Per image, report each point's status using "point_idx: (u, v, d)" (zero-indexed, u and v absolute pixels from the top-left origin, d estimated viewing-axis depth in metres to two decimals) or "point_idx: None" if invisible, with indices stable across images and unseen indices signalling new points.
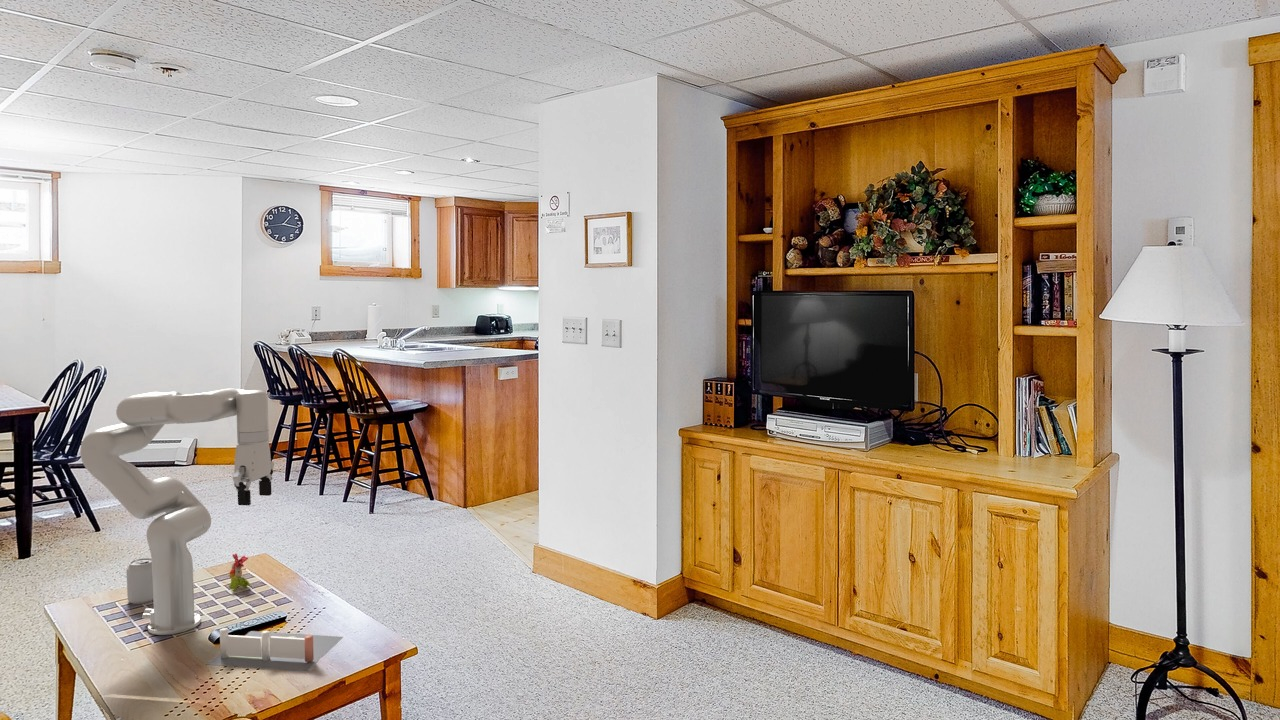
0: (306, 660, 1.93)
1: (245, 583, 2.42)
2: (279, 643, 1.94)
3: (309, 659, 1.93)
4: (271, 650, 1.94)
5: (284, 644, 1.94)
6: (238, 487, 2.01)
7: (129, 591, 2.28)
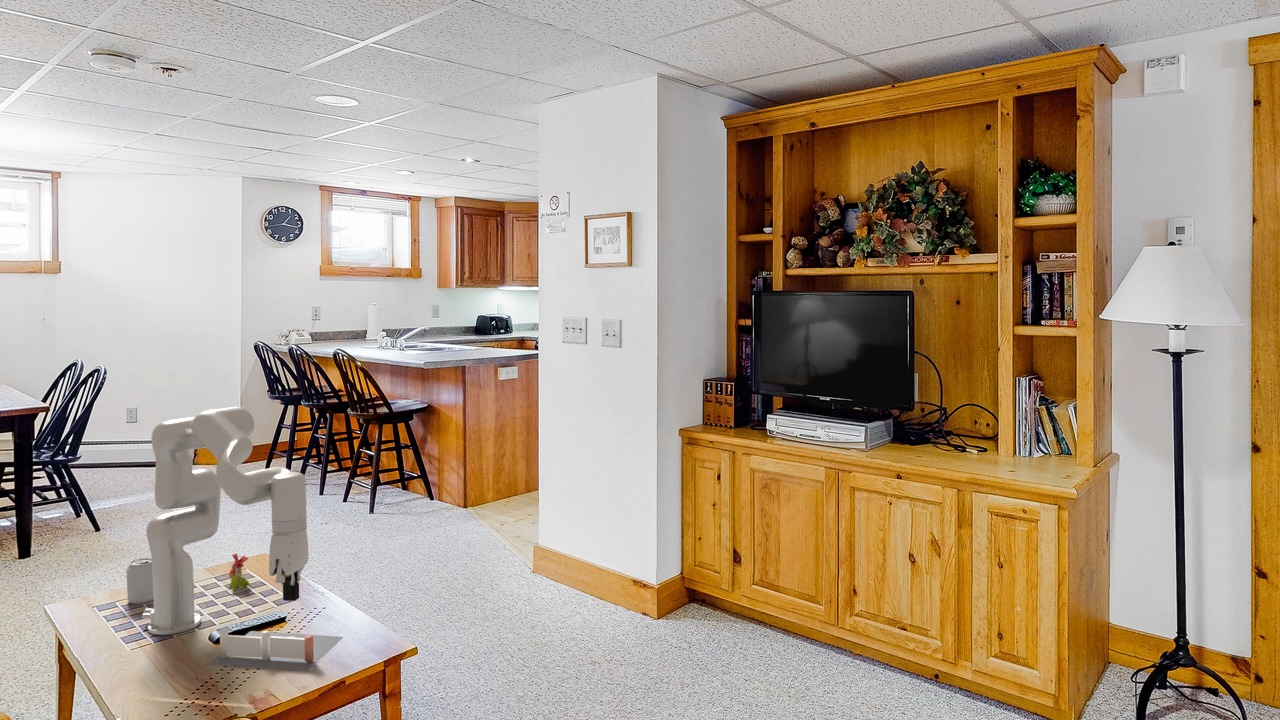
0: (306, 660, 1.93)
1: (245, 583, 2.42)
2: (279, 643, 1.94)
3: (309, 659, 1.93)
4: (271, 650, 1.94)
5: (284, 644, 1.94)
6: (284, 582, 1.84)
7: (129, 591, 2.28)
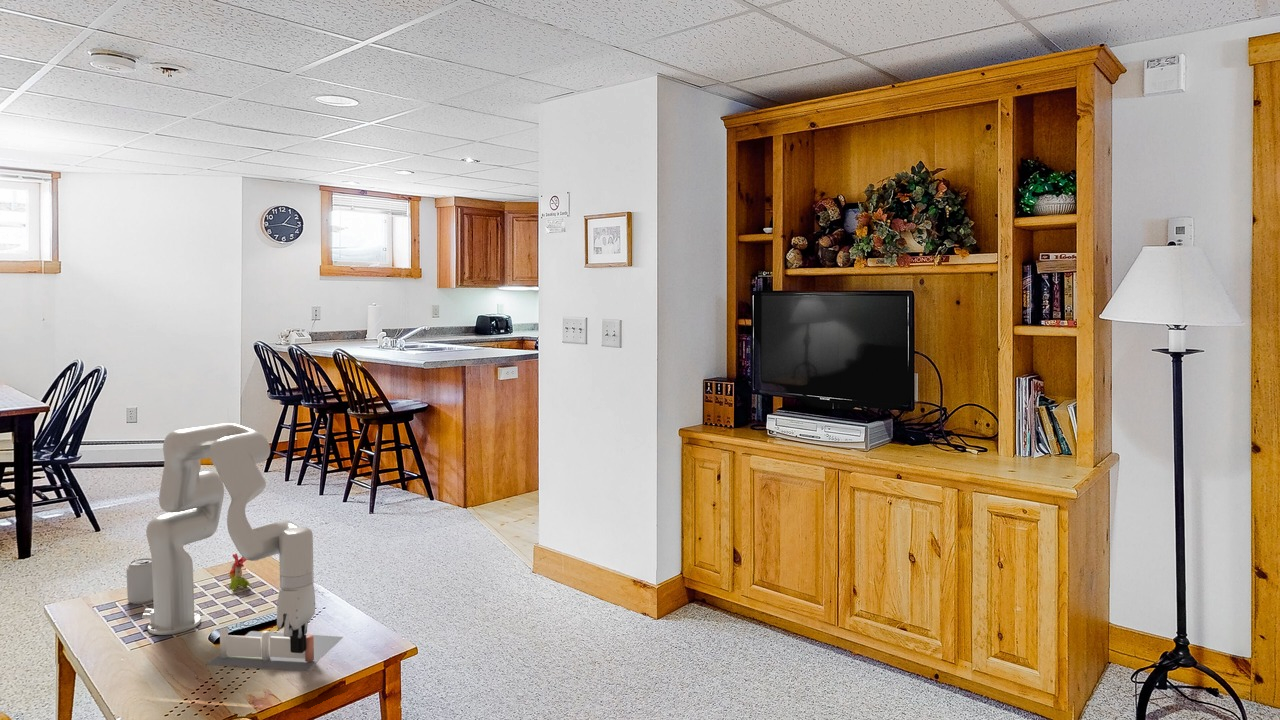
0: (306, 660, 1.93)
1: (245, 583, 2.42)
2: (279, 643, 1.94)
3: (309, 659, 1.93)
4: (271, 650, 1.94)
5: (284, 644, 1.94)
6: (291, 635, 1.88)
7: (129, 591, 2.28)
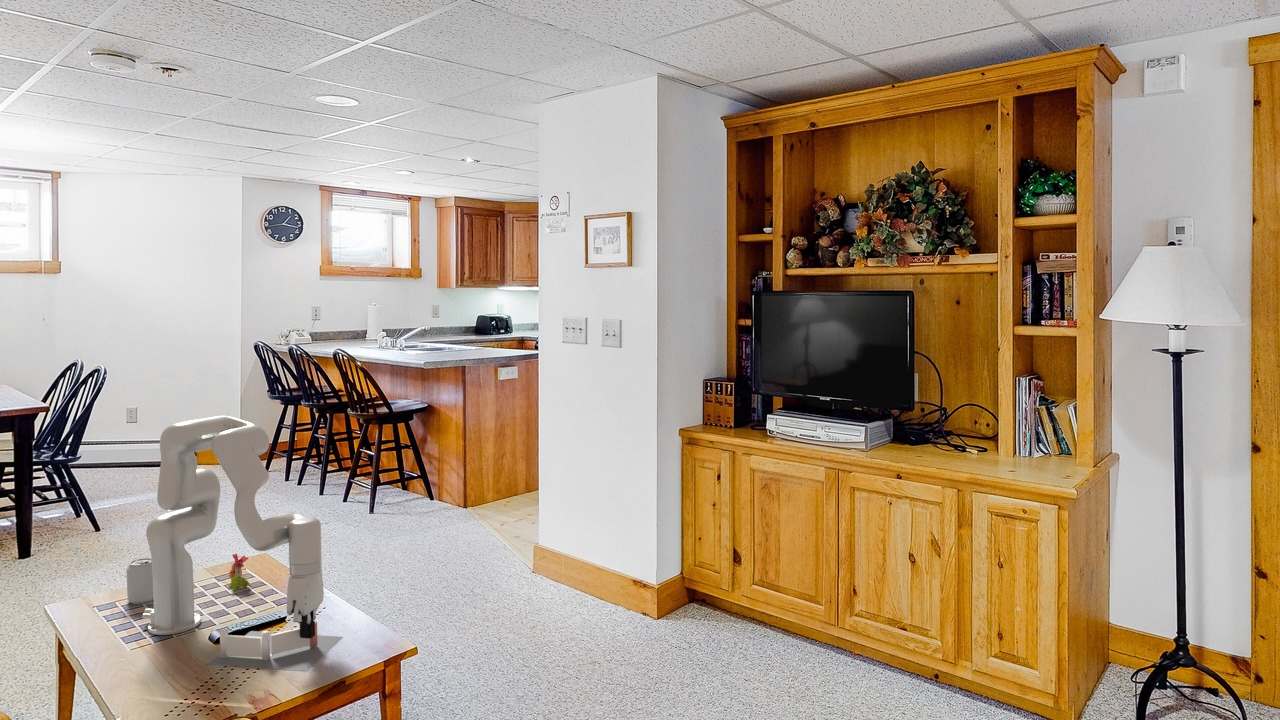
0: (313, 645, 2.01)
1: (245, 583, 2.42)
2: (282, 638, 1.97)
3: (316, 643, 2.02)
4: (273, 648, 1.96)
5: (288, 637, 1.98)
6: (300, 621, 1.96)
7: (129, 591, 2.28)
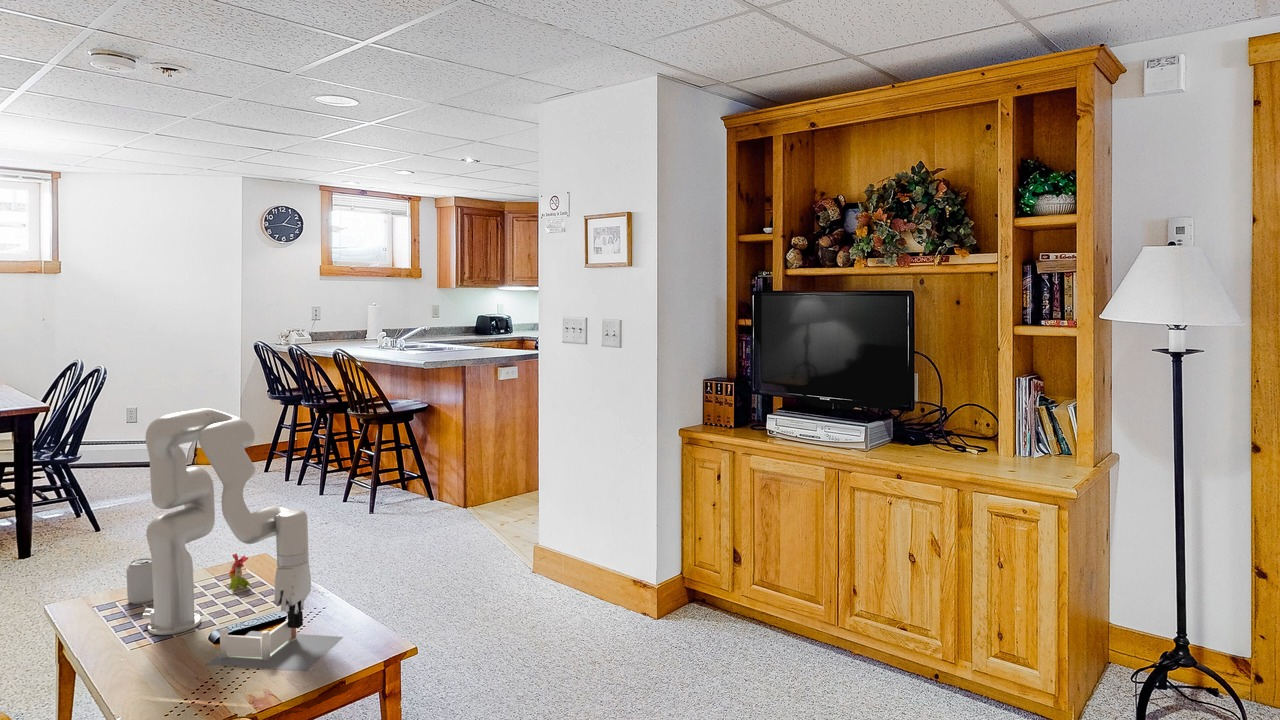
0: (294, 636, 2.06)
1: (245, 583, 2.42)
2: (276, 635, 1.99)
3: None
4: (271, 646, 1.97)
5: (279, 633, 2.00)
6: (288, 611, 2.01)
7: (129, 591, 2.28)
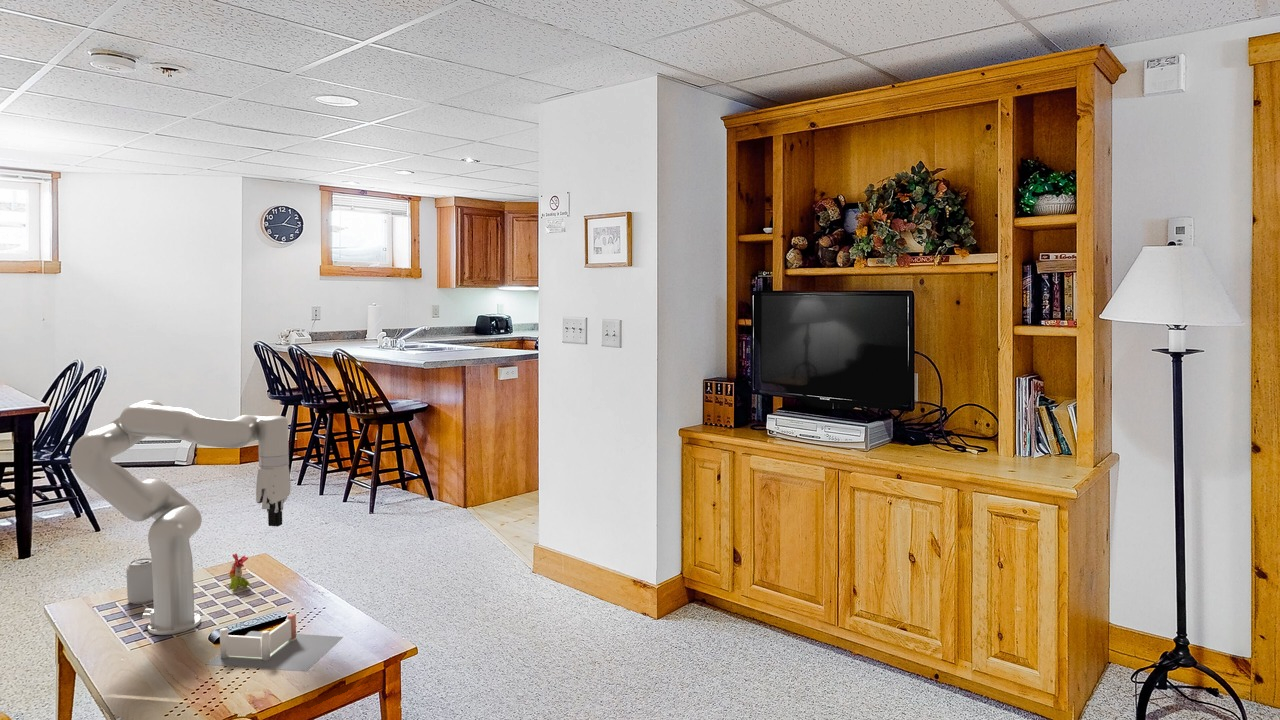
0: (294, 636, 2.06)
1: (245, 583, 2.42)
2: (276, 635, 1.99)
3: None
4: (271, 646, 1.97)
5: (279, 633, 2.00)
6: (269, 509, 2.15)
7: (129, 591, 2.28)
